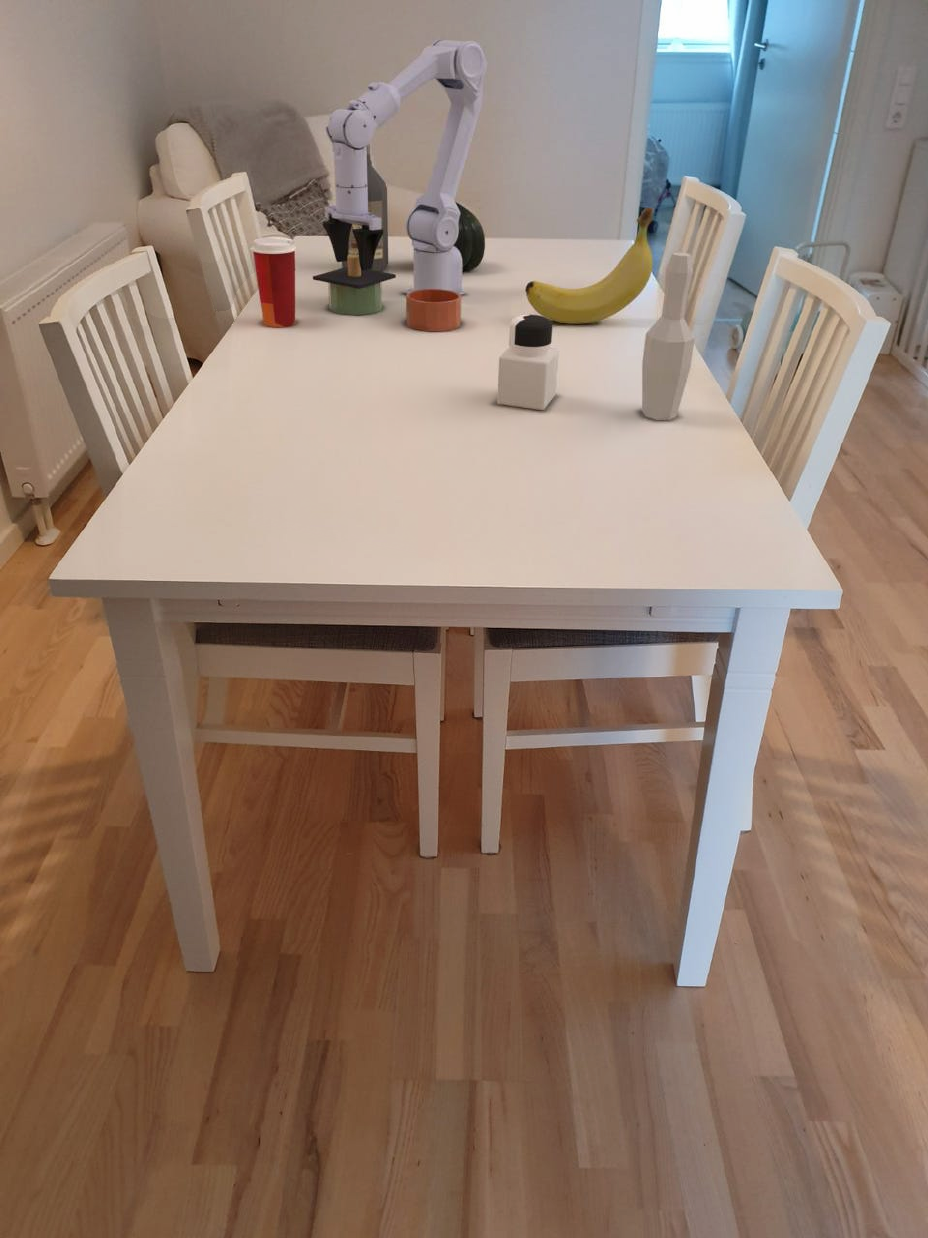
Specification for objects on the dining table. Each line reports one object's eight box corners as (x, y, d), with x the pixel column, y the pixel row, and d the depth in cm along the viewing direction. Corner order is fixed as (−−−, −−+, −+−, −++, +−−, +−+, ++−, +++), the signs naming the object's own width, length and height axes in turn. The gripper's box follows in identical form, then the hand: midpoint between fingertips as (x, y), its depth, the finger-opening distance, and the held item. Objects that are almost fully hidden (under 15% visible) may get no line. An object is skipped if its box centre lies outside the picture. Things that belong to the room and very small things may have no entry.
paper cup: (305, 318, 175) (300, 237, 168) (295, 329, 169) (289, 246, 161) (263, 315, 176) (256, 235, 168) (251, 327, 169) (244, 244, 162)
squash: (485, 253, 200) (484, 187, 202) (413, 253, 200) (414, 188, 203) (485, 287, 214) (484, 225, 216) (418, 287, 214) (418, 226, 217)
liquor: (349, 262, 214) (344, 110, 198) (390, 264, 213) (387, 112, 197) (339, 271, 206) (333, 114, 190) (381, 274, 205) (378, 116, 189)
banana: (525, 326, 174) (532, 208, 163) (521, 317, 179) (528, 202, 168) (647, 327, 176) (662, 210, 165) (640, 318, 181) (654, 204, 170)
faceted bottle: (654, 424, 134) (677, 261, 123) (628, 410, 139) (647, 251, 127) (690, 418, 137) (716, 257, 125) (663, 404, 142) (685, 247, 130)
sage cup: (361, 298, 188) (360, 269, 185) (392, 309, 182) (391, 279, 179) (319, 306, 182) (317, 277, 179) (350, 317, 176) (348, 287, 173)
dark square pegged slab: (350, 268, 185) (349, 247, 183) (395, 277, 181) (395, 255, 178) (312, 279, 178) (311, 256, 175) (359, 288, 173) (358, 265, 171)
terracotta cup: (436, 313, 180) (437, 286, 177) (471, 325, 174) (472, 297, 171) (395, 322, 175) (395, 293, 172) (430, 334, 168) (430, 305, 166)
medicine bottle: (556, 395, 143) (562, 314, 137) (543, 411, 138) (549, 327, 131) (510, 389, 145) (514, 308, 139) (496, 404, 140) (499, 321, 133)
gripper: (309, 181, 173) (313, 260, 180) (357, 193, 164) (360, 275, 171) (341, 178, 177) (344, 255, 184) (390, 189, 168) (391, 270, 175)
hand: (354, 265), depth 178 cm, fingers open, 7 cm apart
